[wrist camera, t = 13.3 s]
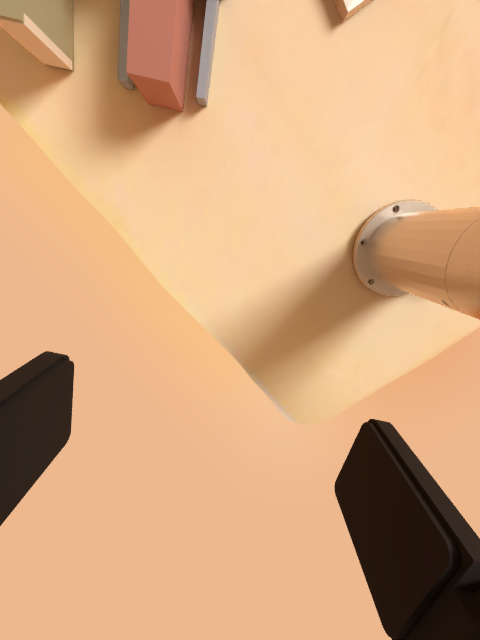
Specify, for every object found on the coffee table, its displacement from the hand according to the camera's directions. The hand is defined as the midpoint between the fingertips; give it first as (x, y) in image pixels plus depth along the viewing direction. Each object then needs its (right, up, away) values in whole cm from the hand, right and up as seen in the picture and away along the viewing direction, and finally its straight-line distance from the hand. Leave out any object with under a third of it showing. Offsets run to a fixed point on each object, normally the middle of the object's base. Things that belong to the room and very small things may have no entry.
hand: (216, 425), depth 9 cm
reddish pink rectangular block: (-7, +33, +22) cm, 40 cm away
